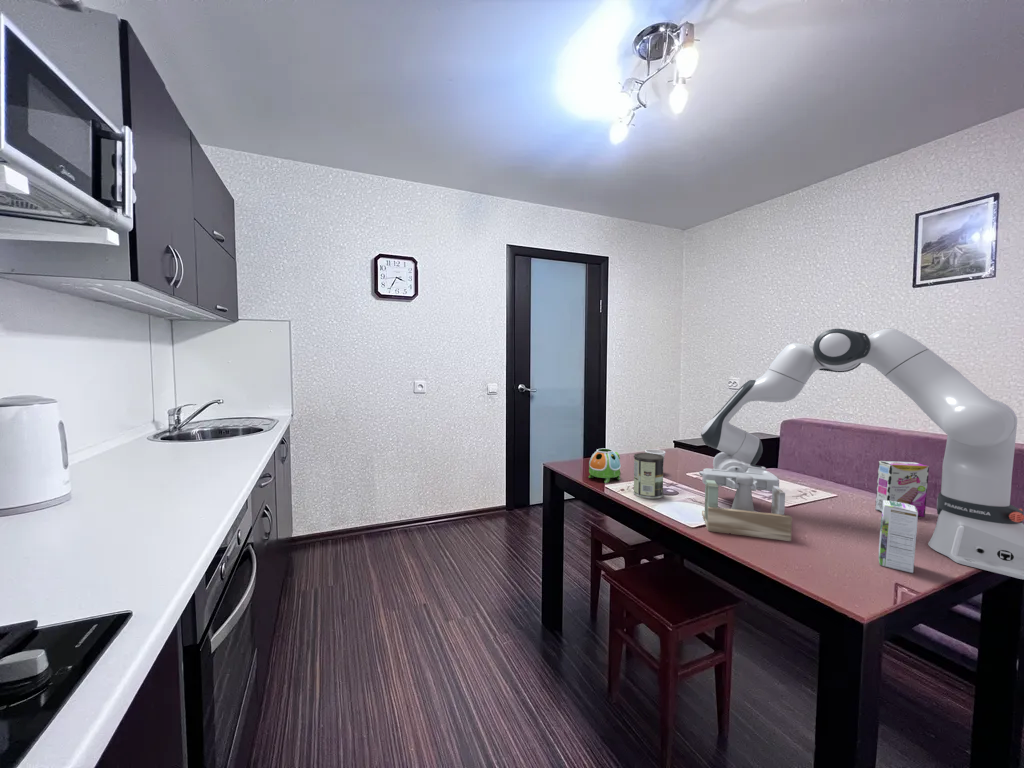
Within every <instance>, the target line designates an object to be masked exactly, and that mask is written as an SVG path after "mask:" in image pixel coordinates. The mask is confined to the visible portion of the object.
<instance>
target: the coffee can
mask: <svg viewBox="0 0 1024 768" xmlns="http://www.w3.org/2000/svg"><path fill="white" fill-rule="evenodd" d="M633 460H634V461H633V463H634V464H633V492H632V493H633V494H634V495H635V496H637V497H639V498H643V499H650V500H652V499H653V500H654V499H660V498H663V497H664V463H663V461H664V462H665V456H664V457H663V456H662V455H658V454H653V453H646V452H638V453H634V454H633Z"/></svg>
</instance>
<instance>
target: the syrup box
mask: <svg viewBox="0 0 1024 768" xmlns="http://www.w3.org/2000/svg"><path fill="white" fill-rule="evenodd" d="M880 517H881V520H880V528H879V529H880V530H879V540H878V543H879V544H878V562H879V566H882V567H886V568H890V569H894V570H898V571H903V572H906V573H910V574H914V568H915V556H916V545H917V543H916V542H917V534H918V533H917V531H918V518H919V516H918V512H917V509H916V507H915V506H913V505H909V504H905V503H901V502H895V501H887V500H883V506H882V513H881V516H880Z"/></svg>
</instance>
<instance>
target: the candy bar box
mask: <svg viewBox="0 0 1024 768" xmlns="http://www.w3.org/2000/svg"><path fill="white" fill-rule="evenodd" d="M929 469H930V466H929V465H926V464H923V463H919V462H915V461H913V462H912V461H894V460H893V461H892V460H891V461H890V460H889V461H888V460H878V470H877V486H876V492H875V493H876V496H875V507H874V509H875V510H876V511H877V512H879V513H881V514H882V506H883V500H887V501H895V502H901V503H905V504H909V505H913V506H915V507H916V509H917V512H918V517H922V518H924V517H925V516H926V506H927V505H926V504H927V497H928V495H927V494H928V484H929V483H928V482H929V472H930V471H929Z"/></svg>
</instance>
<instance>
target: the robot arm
mask: <svg viewBox="0 0 1024 768" xmlns="http://www.w3.org/2000/svg"><path fill="white" fill-rule="evenodd" d="M862 364H866V365H870V366H872V367H873V368H874V369H876V370H877V371H878V372H879V373H881V374H882V375H883V376H884V377H885V378H886V379H888V380H889V381H890V382H891V383H892V384H894V385H895V386H896V387H897V388H898V389H899V390H900V391H901V392H903V393H904V394H905V395H906V396H907V397H908V398H910V400H912V401H913V402H914V404H915V405H916V406H918V408H920V410H921V411H922V412H923V413H924V414H926V416H927V417H928V418H929V419H930V420H931V421H932V422H933V423H934V424H935V425H936V426H937V427H938V428H939V429H940V430H942V432H944V433H945V434H946V435H947V436H946V443H945V450H944V457H943V461H942V469H941V470H942V472H941V483H940V484H941V486H940V491H939V492H938V495H937V499H936V511H937V513H936V515H937V520H936V523H935V524H936V525H935V527H934V531H933V534H932V535H931V538H930V540H929V541H928V543H927V544H928V546H929V547H930V548H931V549H932V550H934V551H936V552H938V553H939V554H942V555H944V556H945V557H948V558H949V559H951V561H953V562H955V563H957V564H960V565H963V566H968V567H971V568H975V569H980V570H983V571H988V572H991V573H994V574H999V575H1004V576H1008V577H1012V578H1015V579H1020V580H1024V523H1023V522H1024V511H1023V508H1021V507H1020V508H1018V507H1016V506H1015V505H1013V504H1011V495H1012V494H1011V493H1012V477H1013V469H1014V457H1015V451H1016V439H1017V429H1018V428H1017V427H1018V418H1017V414H1016V412H1015V411H1014V410H1013V409H1012V408H1011V407H1010V406H1009V405H1008V404H1006V403H1004V402H1002V401H1000V400H997V399H992V398H990V397H989V395H987V394H986V393H984V392H983V391H982V390H981V389H980V388H978V387H977V386H976V385H975V384H973V382H971V381H970V380H969V379H968V378H967V377H965V376H964V374H963V373H961V372H960V371H959V370H957V369H956V368H955V367H953V365H951V364H949V363H948V362H947V361H945V359H943V358H942V357H940V356H939V355H938V354H937V353H935V352H934V351H932V350H931V349H930V348H928V347H927V346H926V345H924V344H923V343H922V342H920V341H918V340H917V339H915V338H914V337H912V336H910V335H908V334H907V333H905V332H902V331H900V330H898V329H895V328H883V329H879V330H877V331H875V332H872V334H870V335H868V334H866V333H865V332H860V331H856V330H850V329H846V328H845V329H844V328H832V329H828V330H825V331H823V332H822V333H820V334H819V335H818V336H817V337H816V339H815V340H814V342H813V344H812V345H808V344H804V343H801V342H793V343H788V344H787V345H786V346H784V348H782V350H781V351H780V352H779V353H777V356H776V357H775V358H774V359H773V360H772V362H771V363H770V365H769V367H768V368H767V369H766V371H765V372H764V373H763V374H762V375H761V376H759V377H758V378H756V379H750V380H747V381H746V382H745V383H743V385H742V386H740V387H739V389H738V390H737V391H736V392H735V393H734V394H733V395H732V396H731V397H730V398H729V400H728V401H726V403H725V404H724V405H723V406H722V407H721V408H720V409H719V411H717V413H716V414H715V415H714V416H712V418H711V419H710V420H708V422H706V424H705V425H704V426H703V427H702V429H701V433H700V437H701V439H702V441H703V443H704V444H705V446H708V447H711V448H713V449H715V450H718V451H720V452H719V453H716V455H715V456H714V457H713V461H712V467H713V468H707V467H706V468H703V469H702V470H700V471H699V472H698V473H699V475H700V476H701V477H702V484H704V485H705V480H714V481H715V482H716V484H717V485H718V487H727V488H729V489H730V490H731V489H732V490H737V489H739V483H737V482H736V477H737V475H738V474H747V475H750V476H752V477H753V484H752V485H751V492H752V491H753V492H756V491H757V490H758V491H759V490H760V491H768V492H769V491H770V492H772V486H778V487H779V488H780V480H779V477H777V476H776V475H775V474H774V473H772V472H770V471H769V470H767V467H765V466H761V465H756V464H757V463H758V462H759V461H760V459H761V457H762V454H763V451H764V450H763V449H764V448H763V443H762V440H761V438H760V437H759V436H756V435H754V434H752V433H750V432H748V431H746V430H744V429H742V428H739V427H737V426H735V425H734V424H731V423H730V421H731V420H732V419H733V418H734V417H735V416H736V414H737V413H738V412H739V411H740V410H741V409H742V408H743V407H744V406H745V405H746V404H748V403H749V402H767V403H785V402H789V401H791V400H794V399H795V398H796V397H798V395H799V394H800V393H801V392H802V390H803V389H804V387H805V385H806V384H807V382H808V381H809V379H810V378H811V377H812V375H813V374H814V373H815V372H816V371H822V372H823V371H824V372H825V371H826V372H831V373H847V372H851V371H853V370H855V369H856V368H858V367H859V366H861V365H862Z"/></svg>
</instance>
